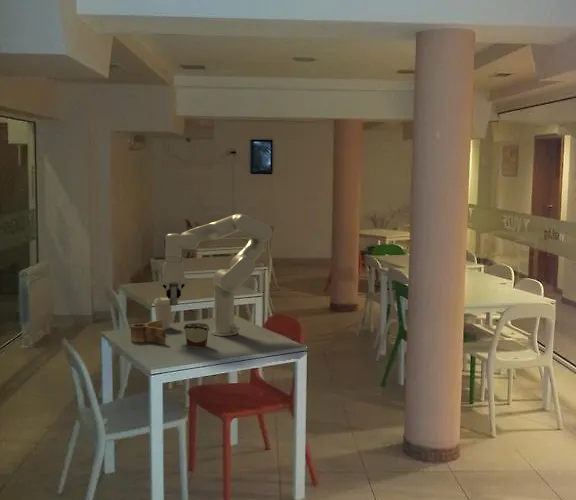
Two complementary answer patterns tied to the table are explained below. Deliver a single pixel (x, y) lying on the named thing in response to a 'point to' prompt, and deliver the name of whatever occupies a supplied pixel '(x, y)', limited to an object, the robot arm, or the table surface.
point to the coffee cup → (163, 311)
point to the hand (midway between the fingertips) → (173, 297)
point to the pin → (173, 293)
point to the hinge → (148, 332)
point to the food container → (196, 335)
